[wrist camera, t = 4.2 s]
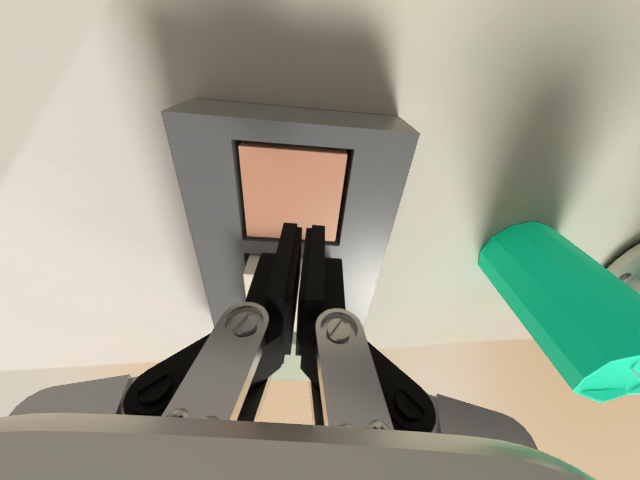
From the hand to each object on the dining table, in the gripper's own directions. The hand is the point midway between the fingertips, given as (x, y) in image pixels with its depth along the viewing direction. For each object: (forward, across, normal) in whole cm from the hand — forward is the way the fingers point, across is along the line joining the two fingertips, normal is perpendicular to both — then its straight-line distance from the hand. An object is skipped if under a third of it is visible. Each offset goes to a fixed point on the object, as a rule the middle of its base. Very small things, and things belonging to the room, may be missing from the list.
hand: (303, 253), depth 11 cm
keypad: (+8, +1, +7) cm, 11 cm away
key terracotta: (+8, +1, 0) cm, 8 cm away
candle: (+9, -17, +5) cm, 20 cm away
